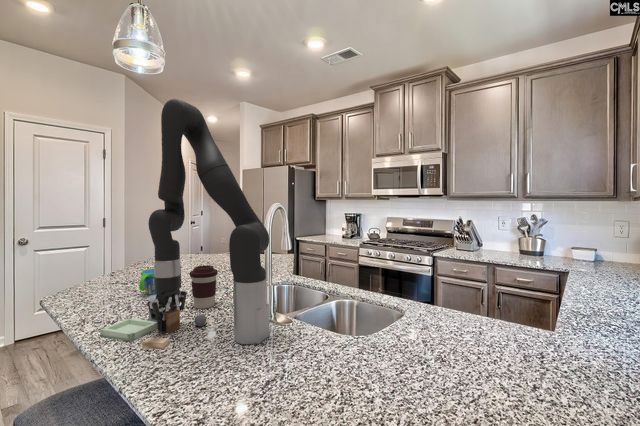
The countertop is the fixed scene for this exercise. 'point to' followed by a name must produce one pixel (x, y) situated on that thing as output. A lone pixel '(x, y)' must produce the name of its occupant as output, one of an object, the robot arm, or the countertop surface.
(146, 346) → the beech domino
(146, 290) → the snack cup
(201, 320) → the rubber ball
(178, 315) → the walnut block
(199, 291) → the coffee cup
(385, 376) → the countertop surface
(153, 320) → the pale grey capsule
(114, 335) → the sage tray
